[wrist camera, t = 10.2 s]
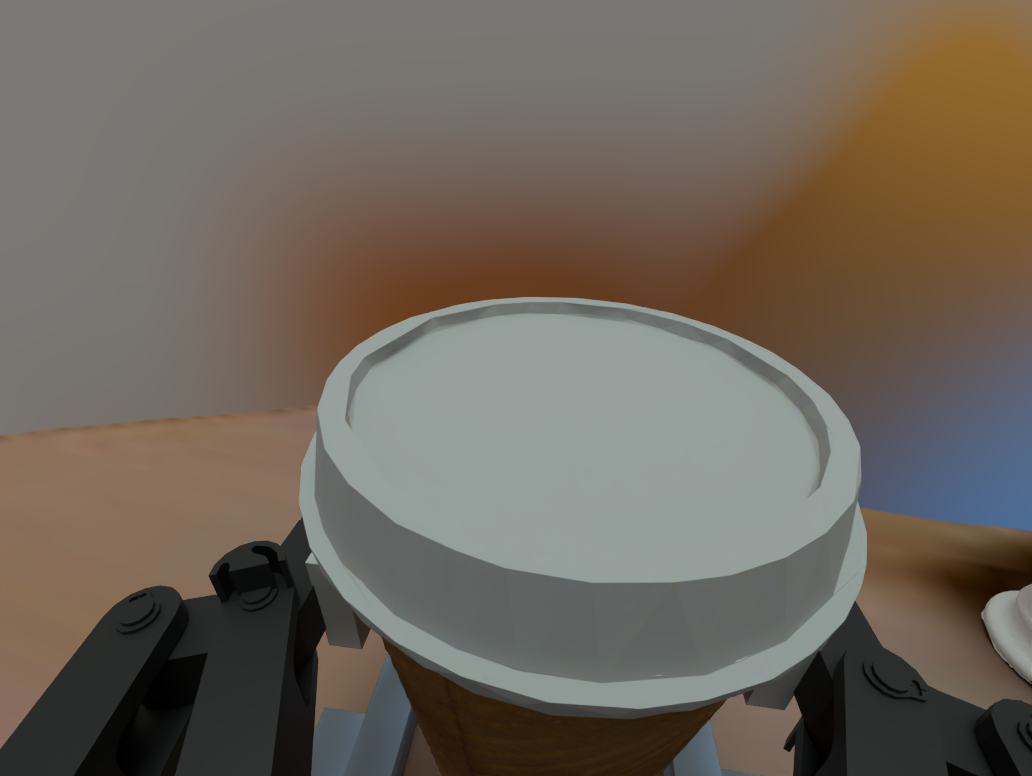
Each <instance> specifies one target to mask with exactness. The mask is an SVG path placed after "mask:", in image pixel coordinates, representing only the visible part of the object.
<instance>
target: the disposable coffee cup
mask: <svg viewBox="0 0 1032 776" xmlns="http://www.w3.org/2000/svg"><path fill="white" fill-rule="evenodd" d="M860 483H861V457H860V446H859V443H858V441H857V439H856V436H855V434H854V432H853V429H852V427H851V425H850V423H849V421H848V419H847V418H846V416H845V415H844V414H843V412H842V411H841V410H840V408H839V407H838V406H837V405H836V403H835V402H834V401H833V399H832V398H831V396H830V395H829V394H828V393H826V392H825V391H824V390H823V389H821V388H820V387H819V386H818V385H817V384H815V383H814V382H813V381H812V380H810V379H809V378H808V377H807V376H806V375H804V374H803V373H802V372H801V371H800V370H798V369H797V368H795V367H794V366H792V365H791V364H789V363H788V362H786V361H784V360H783V359H781V358H780V357H778V356H777V355H775V354H774V353H772V352H770V351H769V350H766V349H764V348H762V347H760V346H758V345H756V344H754V343H752V342H750V341H748V340H745V339H743V338H741V337H738V336H736V335H734V334H731V333H729V332H727V331H724V330H722V329H719V328H717V327H715V326H711V325H708V324H705V323H702V322H699V321H695V320H692V319H689V318H686V317H683V316H679V315H676V314H673V313H668V312H663V311H659V310H654V309H649V308H644V307H639V306H635V305H630V304H624V303H615V302H606V301H597V300H589V299H580V298H546V297H523V298H509V299H496V300H495V299H494V300H485V301H479V302H473V303H466V304H460V305H456V306H452V307H448V308H445V309H441V310H437V311H433V312H430V313H427V314H422V315H419V316H415V317H411V318H409V319H406V320H404V321H402V322H400V323H397V324H395V325H393V326H391V327H388V328H386V329H384V330H382V331H380V332H378V333H377V334H375V335H373V336H372V337H370V338H369V339H367V340H366V341H364V342H362V343H361V344H359V345H358V346H356V347H355V348H354V349H353V350H352V351H351V352H350V353H349V354H348V355H347V356H345V358H343V359H342V360H341V361H340V362H339V364H338V365H337V367H336V368H335V369H334V371H333V372H332V374H331V375H330V376H329V378H328V379H327V382H326V385H325V388H324V391H323V394H322V397H321V400H320V402H319V405H318V408H317V431H316V433H315V434H314V436H313V438H312V441H311V443H310V446H309V448H308V451H307V453H306V456H305V458H304V460H303V463H302V467H301V481H300V495H299V504H300V508H301V513H302V517H303V521H304V525H305V530H306V534H307V538H308V542H309V546H310V549H311V551H312V553H313V555H314V557H315V559H316V561H317V563H318V565H319V567H320V569H321V572H322V574H323V575H324V576H325V577H326V578H327V580H328V581H329V582H330V583H331V584H332V586H333V587H334V588H335V589H336V591H337V592H338V593H339V594H340V595H341V597H342V598H343V599H344V600H345V601H346V603H347V604H348V605H349V606H350V607H351V609H352V610H353V611H354V612H355V613H356V615H357V616H358V617H359V618H360V619H361V621H362V622H363V623H364V624H365V625H367V626H368V627H369V628H371V629H372V630H373V631H375V632H376V633H378V634H379V635H380V636H381V637H382V639H383V642H384V646H385V649H386V650H387V652H388V654H389V655H390V658H391V661H392V664H393V667H394V668H395V670H396V671H397V673H398V677H399V679H400V682H401V684H402V686H403V688H404V690H405V693H406V697H407V698H408V700H409V701H410V705H411V707H412V709H413V711H414V712H415V715H416V719H417V723H418V724H419V726H420V727H421V729H422V732H423V735H424V737H425V738H426V740H427V743H428V745H429V747H430V749H431V752H432V754H433V756H434V758H435V761H436V764H437V765H438V767H439V770H440V772H441V774H442V776H660V775H661V773H662V772H663V771H664V770H665V769H666V768H667V766H668V765H669V764H670V763H671V762H672V761H673V760H674V758H675V757H676V756H677V755H678V754H679V753H680V752H681V751H682V750H683V749H684V748H685V747H686V746H687V744H688V743H689V742H690V741H691V740H692V738H693V737H694V736H695V735H696V734H697V733H698V732H699V730H700V729H701V728H702V727H703V726H704V725H705V724H706V723H707V722H708V721H709V720H710V718H711V717H712V716H713V714H714V713H715V712H716V711H717V710H718V709H719V708H720V707H721V706H722V705H723V704H724V702H725V701H726V700H727V699H728V698H731V697H734V696H737V695H740V694H743V693H746V692H748V691H751V690H754V689H757V688H760V687H763V686H766V685H769V684H772V683H775V682H776V681H778V680H779V679H780V678H781V677H783V676H784V675H785V674H787V673H788V672H789V671H790V670H792V669H793V668H794V667H795V666H797V665H798V664H799V663H801V662H802V661H803V660H804V659H806V658H807V657H808V656H810V655H811V654H812V653H813V652H815V651H816V650H817V649H818V648H819V647H820V646H821V645H823V644H824V643H825V642H826V641H827V640H828V639H829V638H830V637H831V636H832V635H833V634H834V632H835V631H836V630H837V629H838V628H839V627H840V626H841V624H842V623H843V622H844V621H845V619H846V617H847V615H848V613H849V611H850V609H851V607H852V605H853V603H854V601H855V599H856V597H857V595H858V593H859V591H860V589H861V586H862V582H863V578H864V573H865V569H866V565H867V531H866V528H865V525H864V521H863V518H862V514H861V511H860V507H859V504H858V501H857V500H858V494H859V489H860Z"/></svg>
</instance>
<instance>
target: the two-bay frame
mask: <svg viewBox="0 0 1032 776" xmlns="http://www.w3.org/2000/svg"><path fill="white" fill-rule="evenodd" d="M416 722H417V719H416V715H415V712H414V711H413V709H412V707H411V705H410V701H409V700H408V698H407V697H406V693H405V690H404V688H403V686H402V684H401V682H400V679H399V677H398V673H397V671H396V670H395V668H394V667H393V664H392V661H391V658H390V655H389V654H388V655H387V657H386V660H385V663H384V666H383V668H382V671H381V674H380V677H379V679H378V682H377V685H376V687H375V690H374V693H373V696H372V698H371V701H370V704H369V707H368V709H367V712H366V714H363V713H357V712H351V711H344V710H338V709H331V708H325V709H324V711H323V713H322V715H321V718H320V720H319V722H318V724H317V727H316V729H315V731H314V738H313V754H312V770H311V776H402V773H403V769H404V765H405V762H406V758H407V755H408V751H409V747H410V744H411V740H412V736H413V733H414V729H415V726H416ZM663 774H664V776H763V775H757V774H751V773H744V772H738V771H731V770H725V769H720V765H719V760H718V756H717V751H716V747H715V742H714V738H713V733H712V729H711V724H710V720H709V721H708V722H707V723H706V724H705V725H704V726H703V727H702V728H701V729H700V730H699V732H698V733H697V734H696V735H695V736H694V737H693V738H692V740H691V741H690V742H689V743H688V744H687V746H686V747H685V748H684V749H683V750H682V751H681V752H680V753H679V754H678V755H677V756H676V757H675V758H674V760H673V761H672V762H671V763H670V764H669V765H668V766H667V768H666V769H665V770H664V771H663Z"/></svg>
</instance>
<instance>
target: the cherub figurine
mask: <svg viewBox="0 0 1032 776" xmlns="http://www.w3.org/2000/svg"><path fill="white" fill-rule="evenodd" d="M984 609H985V610H984ZM984 609H983V610H982V611H983V612H982V613H981V614H982V616H981V617H982V619H983V620H984V622H985V623H984V624H985V626H986V628H987V631H988V634H989V636H990V638H991V641H992V644H993V646H994V649H995V650H996V651H997V653H998V654H999V655H1000V656H1001V658H1002V659H1004V660H1005V661H1006V662H1008V663H1009V666H1010V667H1012V668H1014V669H1015V671H1017V673H1018V674H1019V675H1020V676H1022V678H1024V679H1026V681H1028V682H1030V681H1032V584H1030V585H1028V586H1025V587H1024V588H1022V589H1021V590H1020V591H1007V592H1002V593H1000V594H997V595H995V596H994V597H992V598H991V599H990V600H989V601H988V603H987V604H986V606H985V608H984ZM1030 683H1031V682H1030ZM1031 684H1032V683H1031Z"/></svg>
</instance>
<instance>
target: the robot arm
mask: <svg viewBox="0 0 1032 776" xmlns="http://www.w3.org/2000/svg"><path fill="white" fill-rule="evenodd" d="M209 578H210V580H211V582H212V584H213V586H214V588H215V591H216V593H217V595H211V596H205V597H199V598H193V599H187V600H182V598H181V596H180V594H179V593H178V592H177V591H176V590H175V589H173V588H172V587H167V586H155V587H150V588H145V589H143V590H140V591H138V592H136V593H133V594H131V595H129V596H128V597H126V598H125V599H123V600H122V601H120V602H119V603H117V604H116V605H114V606H113V607H112V608H111V609H110V610H109V611H108V612H107V613H106V614H105V615H104V616H103V617H102V619H101V620H100V621H99V623H98V624H97V625H96V627H95V628H94V629H93V630H92V632H91V633H90V634H89V636H88V637H87V638H86V639H85V641H84V642H83V643H82V645H81V646H80V647H79V648H78V650H77V651H76V652H75V654H74V655H73V656H72V657H71V659H70V660H69V661H68V663H67V664H66V665H65V666H64V668H63V669H62V670H61V672H60V673H59V674H58V676H57V677H56V678H55V679H54V681H53V682H52V683H51V685H50V686H49V687H48V688H47V690H46V691H45V692H44V694H43V695H42V696H41V697H40V699H39V700H38V701H37V703H36V704H35V705H34V706H33V708H32V709H31V710H30V712H29V713H28V714H27V715H26V717H25V718H24V719H23V721H22V722H21V723H20V724H19V726H18V727H17V728H16V730H15V731H14V732H13V734H12V735H11V736H10V737H9V739H8V740H7V741H6V743H5V744H4V745H3V746H2V748H1V749H0V776H311V770H312V754H313V738H314V721H315V705H316V689H317V673H318V656H317V650H316V647H317V645H318V643H319V641H320V639H321V637H322V635H323V633H324V631H326V635H327V638H328V642H329V645H334V646H341V647H348V648H355V649H362V648H363V646H364V643H365V641H366V638H367V636H368V634H369V631H370V629H371V628H369V627H368V626H367V625H365V624H364V623H363V622H362V621H361V619H360V618H359V617H358V616H357V615H356V613H355V612H354V611H353V610H352V609H351V607H350V606H349V605H348V604H347V603H346V601H345V600H344V599H343V598H342V597H341V595H340V594H339V593H338V592H337V591H336V589H335V588H334V587H333V586H332V584H331V583H330V582H329V581H328V580H327V578H326V577H325V576H324V575H323V574H322V572H321V569H320V567H319V565H318V563H317V561H316V559H315V557H314V555H313V553H312V551H311V549H310V546H309V542H308V538H307V534H306V530H305V525H304V521H303V517H302V518H301V520H299V521H298V523H297V524H296V525H295V527H294V528H293V530H292V531H291V532H290V534H289V535H288V536H287V538H286V539H285V541H284V542H283V543H282V545H281V546H279V545H278V544H277V543H273V542H270V541H254V542H251V543H248V544H244V545H241V546H239V547H237V548H235V549H234V550H232V551H230V552H228V553H227V554H225V555H224V556H223V557H222V558H221V559H220V560H219V561H218V562H217V563H216V564H215V565H214V567H213V569H212V571H211V572H210V574H209ZM743 695H744V699H745V702H746V705H753V706H760V707H767V708H774V709H781V710H785V708H786V707H787V705H788V704H789V702H790V700H791V699H792V697H793V696H794V695H795V698H796V701H797V703H798V706H799V709H800V711H801V714H802V717H801V718H800V720H799V721H798V723H797V724H796V726H795V727H794V729H793V730H792V732H791V733H790V735H789V736H788V738H787V740H786V743H785V746H784V748H783V749H785V750H787V751H789V752H790V751H791V749H792V748H793V746H794V745H795V755H794V772H793V776H1032V705H1030V704H1027V703H1025V702H1022V701H1018V700H1010V699H1003V700H1000V701H998V702H996V703H994V704H993V705H992V706H991V707H990V708H989V709H987V710H985V709H982V708H980V707H977V706H975V705H973V704H970V703H968V702H965V701H963V700H960V699H958V698H955V697H953V696H950V695H948V694H945V693H943V692H940V691H938V690H936V689H934V688H932V687H930V686H928V685H927V684H926V682H925V681H924V680H923V679H922V677H921V676H920V675H919V673H918V672H917V671H916V670H915V669H914V668H913V667H911V666H910V665H909V664H908V663H907V662H905V661H904V660H903V659H902V658H901V657H899V656H897V655H895V654H894V653H892V652H890V651H888V650H887V649H885V648H883V647H882V645H881V644H880V642H879V640H878V639H877V637H876V635H875V634H874V632H873V630H872V628H871V627H870V625H869V623H868V622H867V620H866V618H865V616H864V615H863V613H862V611H861V610H860V608H859V606H858V605H857V603H856V601H854V603H853V605H852V607H851V609H850V611H849V613H848V615H847V617H846V619H845V621H844V622H843V623H842V624H841V626H840V627H839V628H838V629H837V630H836V631H835V632H834V634H833V635H832V636H831V637H830V638H829V639H828V640H827V641H826V642H825V643H824V644H823V645H821V646H820V647H819V648H818V649H817V650H816V651H815V652H813V653H812V654H811V655H810V656H808V657H807V658H806V659H804V660H803V661H802V662H801V663H799V664H798V665H797V666H795V667H794V668H793V669H792V670H790V671H789V672H788V673H787V674H785V675H784V676H783V677H781V678H780V679H779V680H778V681H776V682H775V683H772V684H769V685H766V686H763V687H760V688H757V689H754V690H751V691H748V692H746V693H743Z"/></svg>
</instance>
